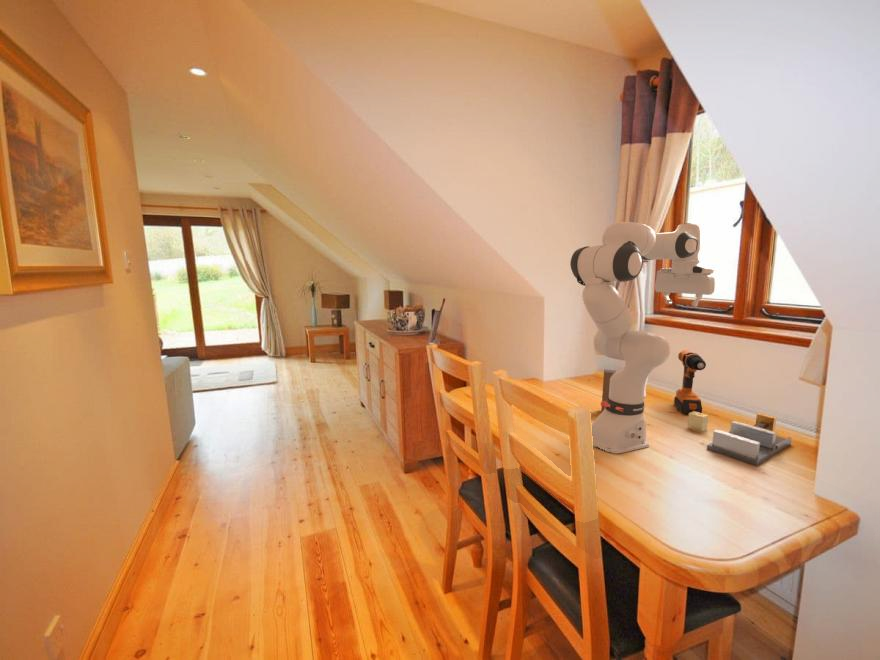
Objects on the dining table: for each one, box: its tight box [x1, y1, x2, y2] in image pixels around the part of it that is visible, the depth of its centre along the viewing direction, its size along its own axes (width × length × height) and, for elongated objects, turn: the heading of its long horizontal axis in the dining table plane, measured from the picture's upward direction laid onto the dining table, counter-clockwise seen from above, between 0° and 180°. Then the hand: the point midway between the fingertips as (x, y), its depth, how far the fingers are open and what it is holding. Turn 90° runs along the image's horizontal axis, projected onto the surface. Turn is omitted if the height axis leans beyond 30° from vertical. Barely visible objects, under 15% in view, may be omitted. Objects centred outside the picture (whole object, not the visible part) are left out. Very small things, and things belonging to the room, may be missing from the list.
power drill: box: [673, 349, 707, 414], centre depth 168 cm, size 22×7×25 cm, turn 165°
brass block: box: [687, 411, 709, 433], centre depth 152 cm, size 4×5×6 cm
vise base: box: [706, 429, 792, 467], centre depth 137 cm, size 28×14×6 cm, turn 123°
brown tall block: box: [600, 369, 617, 414], centre depth 167 cm, size 9×4×18 cm, turn 66°
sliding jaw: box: [729, 412, 777, 449], centre depth 140 cm, size 13×12×7 cm
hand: (681, 305), depth 154 cm, fingers open, 8 cm apart
